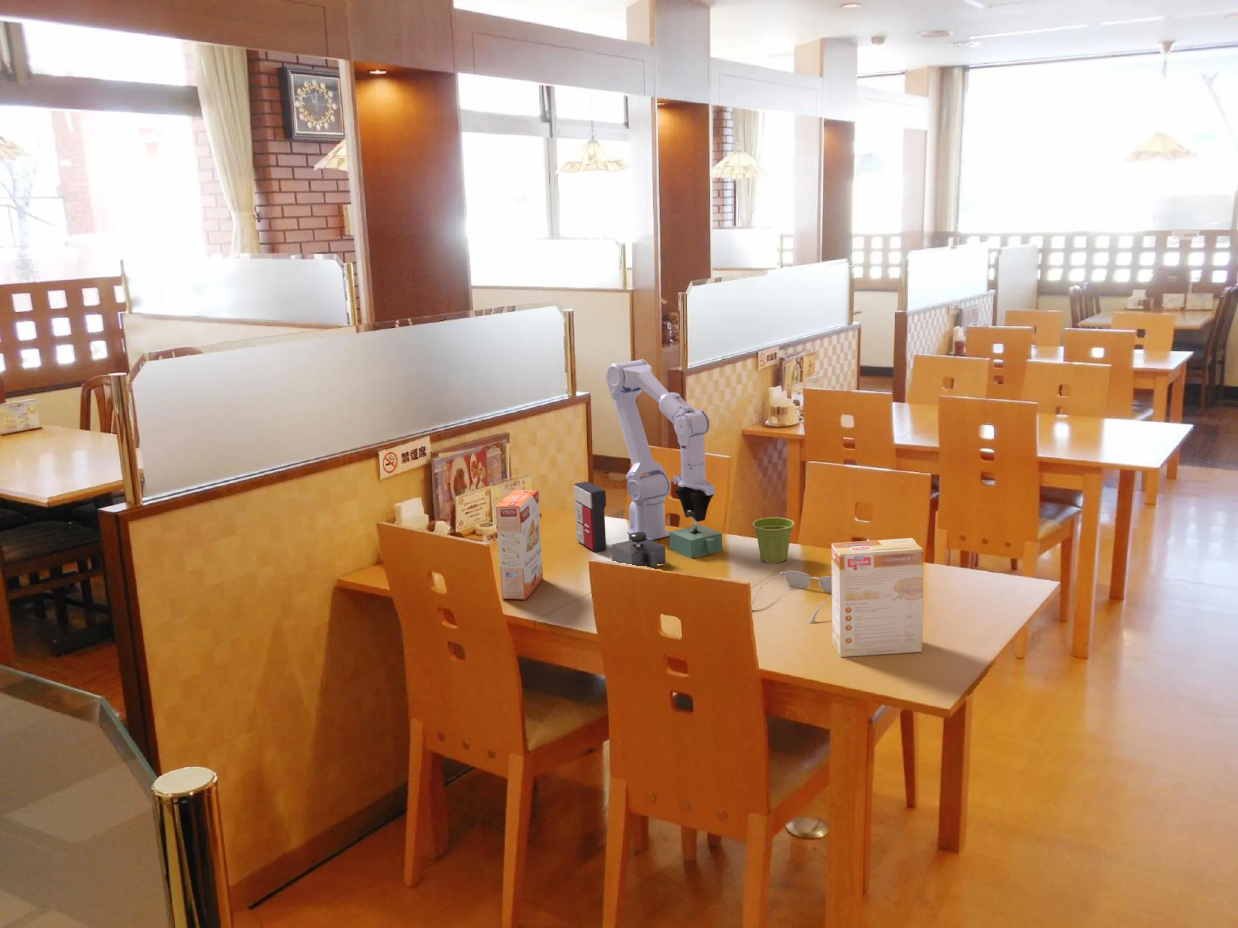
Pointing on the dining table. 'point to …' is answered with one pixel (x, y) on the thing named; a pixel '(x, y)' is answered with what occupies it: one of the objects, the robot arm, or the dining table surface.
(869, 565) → the coffeecake box
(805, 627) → the dining table surface
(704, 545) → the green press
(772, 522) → the plant pot
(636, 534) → the charcoal plunger
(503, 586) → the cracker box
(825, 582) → the eyeglasses
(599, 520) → the red grey tall block
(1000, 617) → the dining table surface
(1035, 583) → the dining table surface
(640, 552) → the charcoal press
